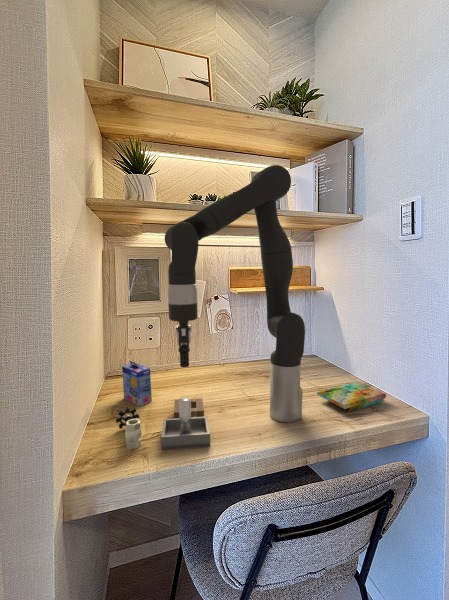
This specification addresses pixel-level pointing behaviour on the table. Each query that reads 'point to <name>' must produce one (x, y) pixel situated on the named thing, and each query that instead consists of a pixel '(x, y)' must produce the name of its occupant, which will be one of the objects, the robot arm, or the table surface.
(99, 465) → the table surface
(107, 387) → the table surface
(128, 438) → the valve
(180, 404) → the pin
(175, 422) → the tray
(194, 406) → the pin block
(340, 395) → the puzzle game
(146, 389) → the ink cartridge box
